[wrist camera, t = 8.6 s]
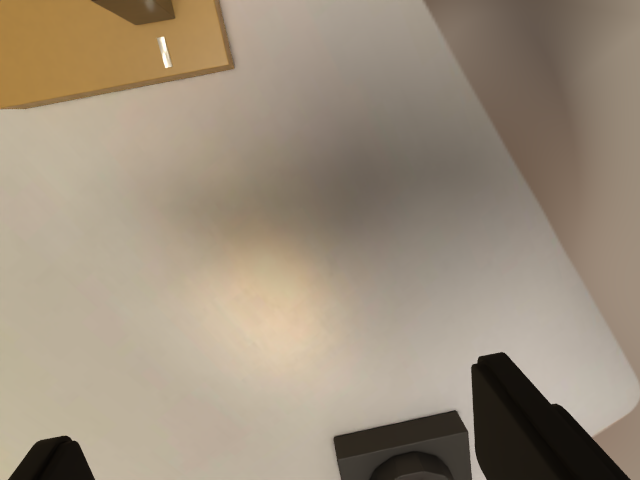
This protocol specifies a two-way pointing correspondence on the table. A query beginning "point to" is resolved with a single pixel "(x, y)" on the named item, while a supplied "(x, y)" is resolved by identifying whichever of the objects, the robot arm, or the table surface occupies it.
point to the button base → (407, 451)
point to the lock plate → (102, 49)
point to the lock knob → (139, 10)
